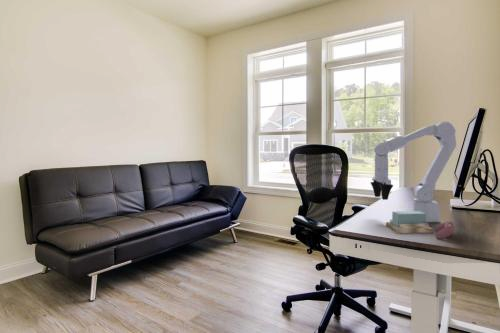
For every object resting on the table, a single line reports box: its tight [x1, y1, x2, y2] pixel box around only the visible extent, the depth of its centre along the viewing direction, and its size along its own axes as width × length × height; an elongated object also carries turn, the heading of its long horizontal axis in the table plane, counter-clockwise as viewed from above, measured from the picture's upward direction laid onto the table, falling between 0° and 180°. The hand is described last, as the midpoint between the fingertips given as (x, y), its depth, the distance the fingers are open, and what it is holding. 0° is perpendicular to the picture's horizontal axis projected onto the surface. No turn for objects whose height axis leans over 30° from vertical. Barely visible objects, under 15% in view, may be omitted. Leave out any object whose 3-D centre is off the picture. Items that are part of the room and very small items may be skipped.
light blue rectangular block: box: [391, 210, 427, 227], centre depth 119 cm, size 11×4×5 cm, turn 92°
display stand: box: [385, 218, 434, 234], centre depth 119 cm, size 13×11×3 cm
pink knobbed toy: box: [434, 219, 456, 239], centre depth 109 cm, size 10×5×7 cm, turn 149°
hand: (381, 198), depth 138 cm, fingers open, 7 cm apart
